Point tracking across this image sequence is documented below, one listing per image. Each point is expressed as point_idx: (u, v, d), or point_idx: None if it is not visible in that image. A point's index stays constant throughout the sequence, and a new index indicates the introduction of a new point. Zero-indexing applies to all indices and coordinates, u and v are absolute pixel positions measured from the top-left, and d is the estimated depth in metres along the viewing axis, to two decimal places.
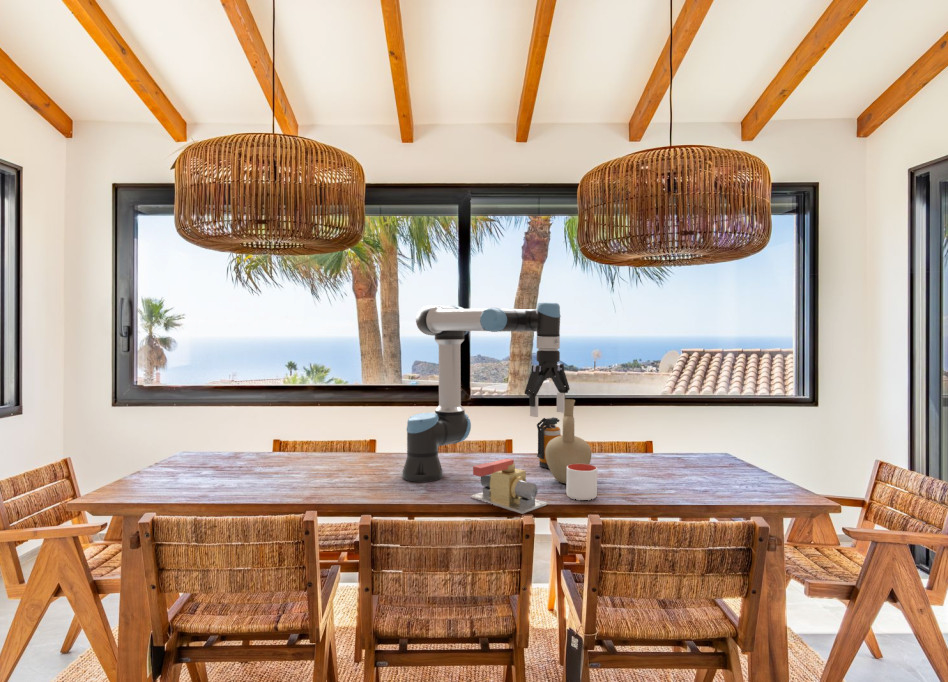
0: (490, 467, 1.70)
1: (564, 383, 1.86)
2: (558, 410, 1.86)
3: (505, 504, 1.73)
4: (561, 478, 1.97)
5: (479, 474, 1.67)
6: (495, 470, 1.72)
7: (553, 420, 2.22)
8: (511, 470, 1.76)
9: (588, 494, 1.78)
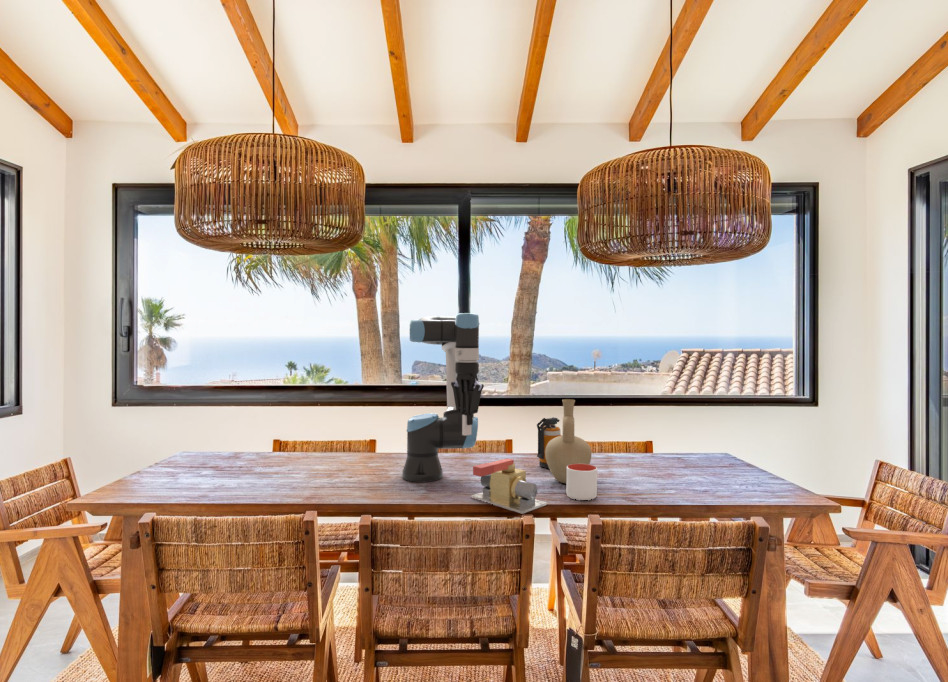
0: (490, 467, 1.70)
1: None
2: None
3: (505, 504, 1.73)
4: (561, 478, 1.97)
5: (479, 474, 1.67)
6: (495, 470, 1.72)
7: (553, 420, 2.22)
8: (511, 470, 1.76)
9: (588, 494, 1.78)
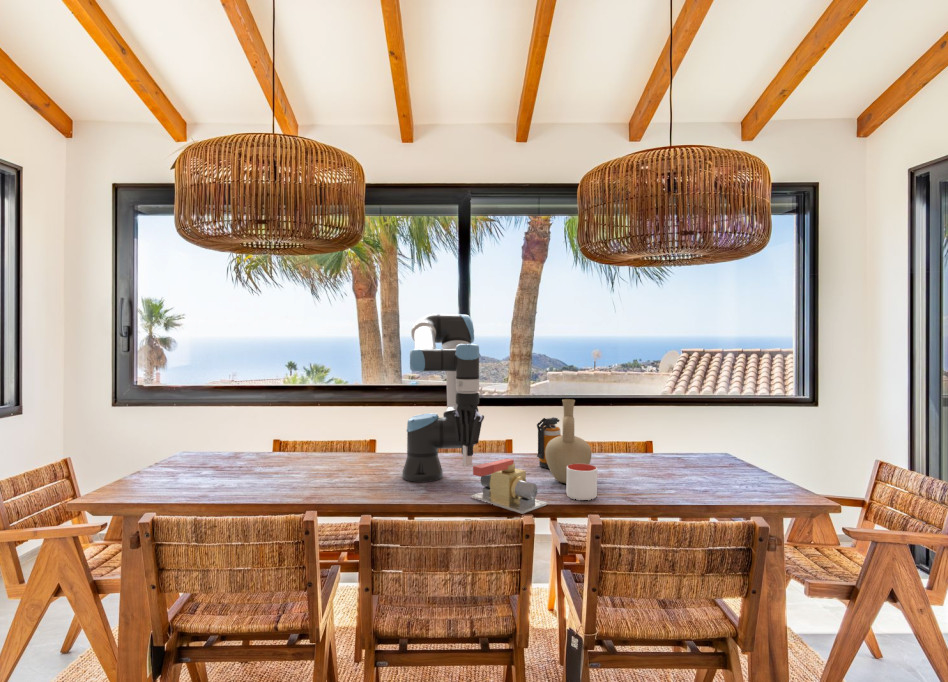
0: (490, 467, 1.70)
1: None
2: None
3: (505, 504, 1.73)
4: (561, 478, 1.97)
5: (479, 474, 1.67)
6: (495, 470, 1.72)
7: (553, 420, 2.22)
8: (511, 470, 1.76)
9: (588, 494, 1.78)
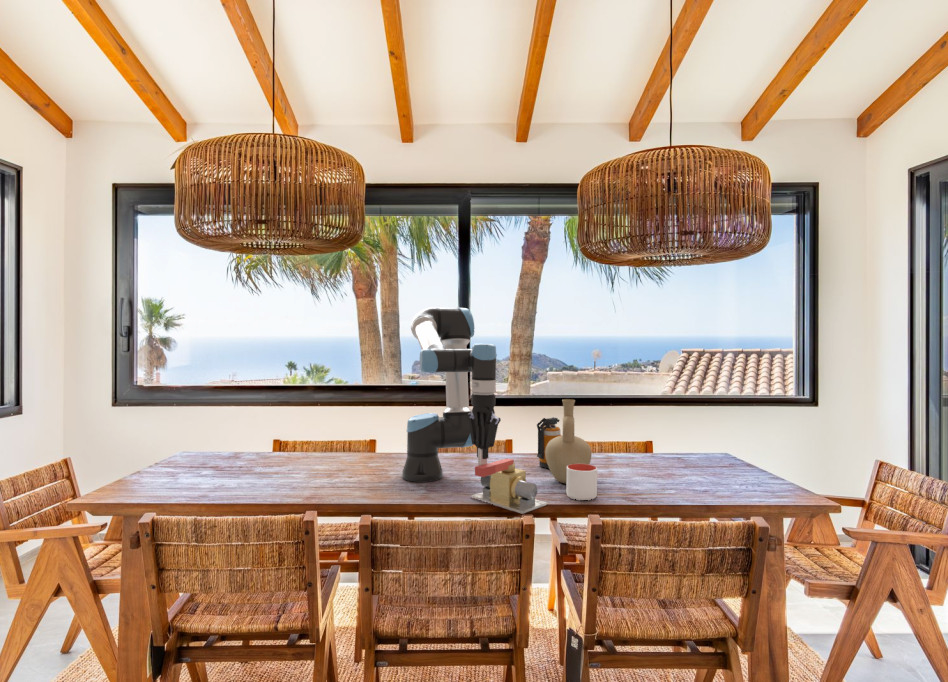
0: (492, 467, 1.69)
1: None
2: None
3: (505, 504, 1.73)
4: (561, 478, 1.97)
5: (481, 474, 1.66)
6: (496, 470, 1.71)
7: (553, 420, 2.22)
8: (512, 470, 1.76)
9: (588, 494, 1.78)
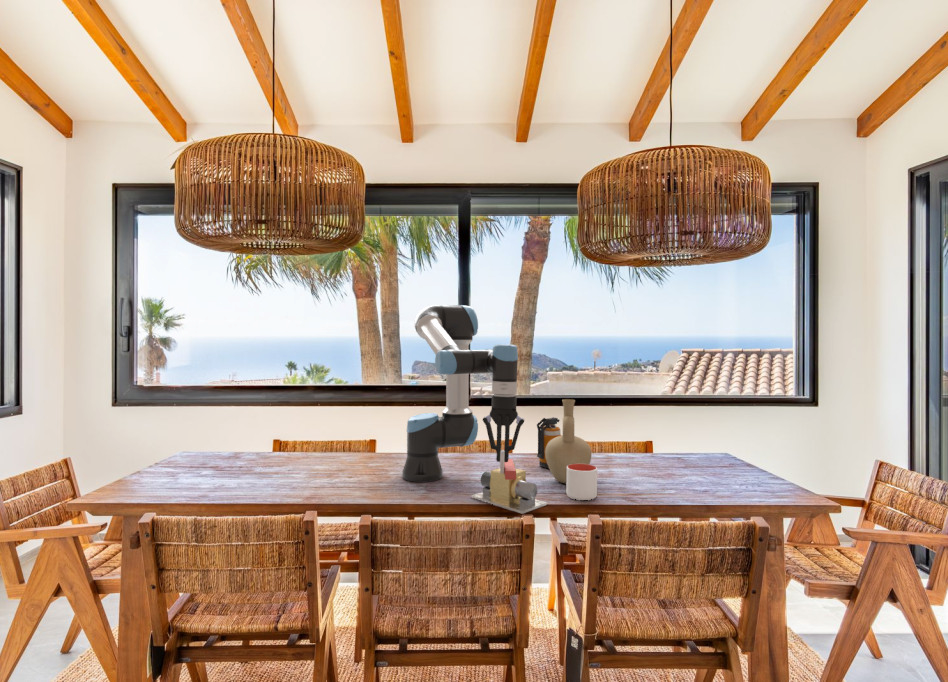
0: None
1: None
2: None
3: (505, 504, 1.73)
4: (561, 478, 1.97)
5: (514, 477, 1.63)
6: None
7: (553, 420, 2.22)
8: None
9: (588, 494, 1.78)
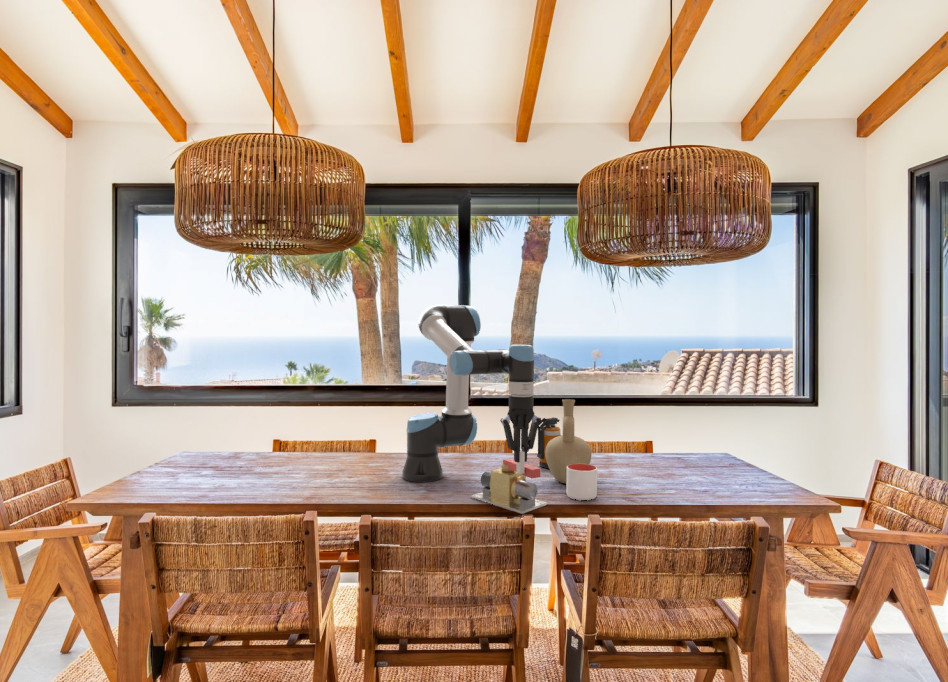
0: None
1: (530, 438, 1.68)
2: None
3: (505, 504, 1.73)
4: (561, 478, 1.97)
5: (539, 475, 1.66)
6: None
7: (553, 420, 2.22)
8: None
9: (588, 494, 1.78)
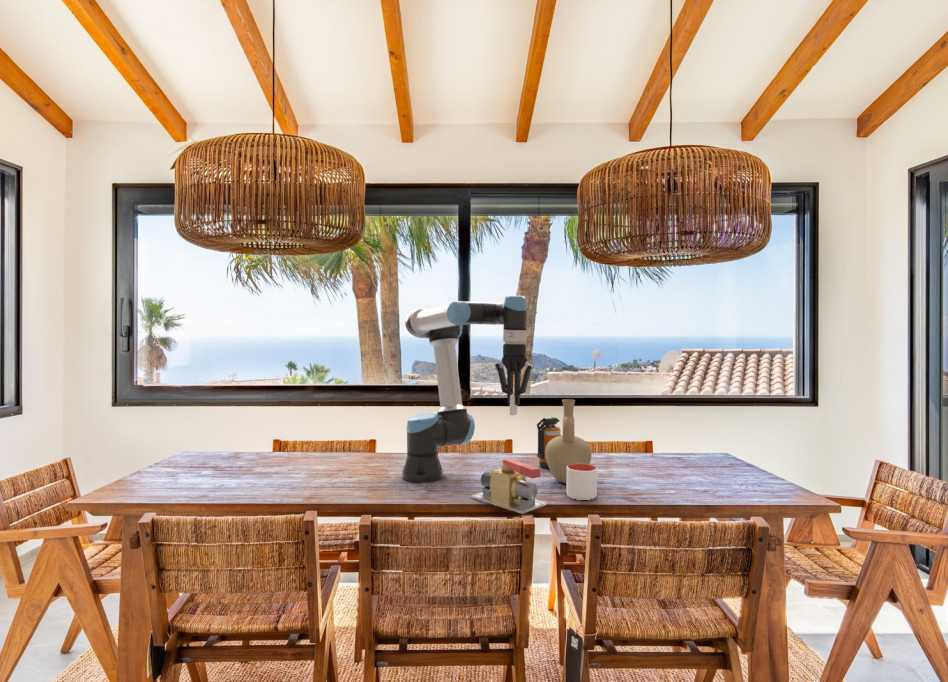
0: None
1: None
2: None
3: (505, 504, 1.73)
4: (561, 478, 1.97)
5: (539, 475, 1.66)
6: None
7: (553, 420, 2.22)
8: None
9: (588, 494, 1.78)
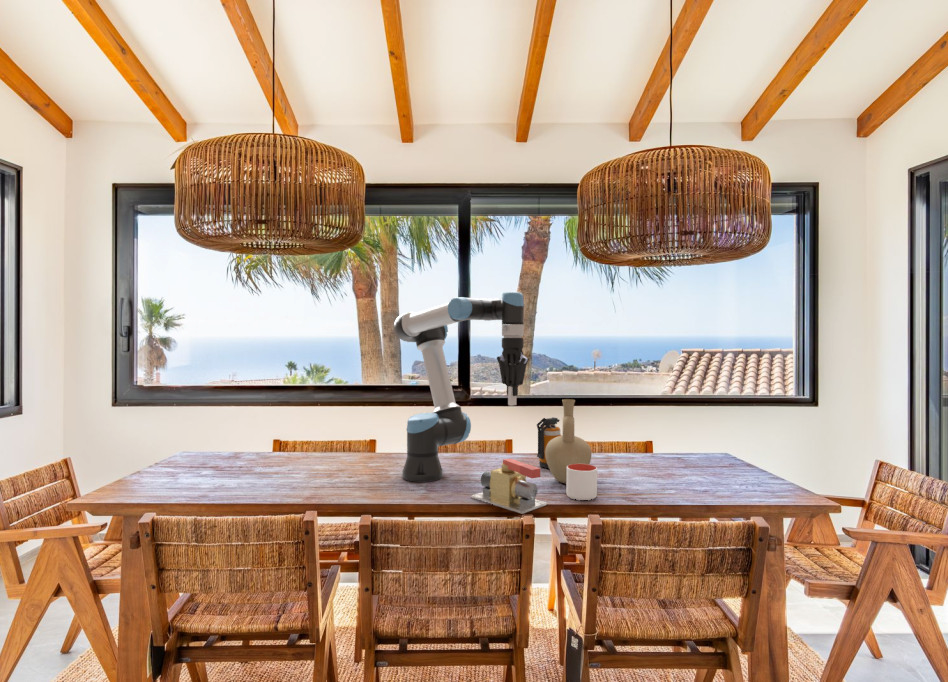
0: None
1: None
2: None
3: (505, 504, 1.73)
4: (561, 478, 1.97)
5: (539, 475, 1.66)
6: None
7: (553, 420, 2.22)
8: None
9: (588, 494, 1.78)
